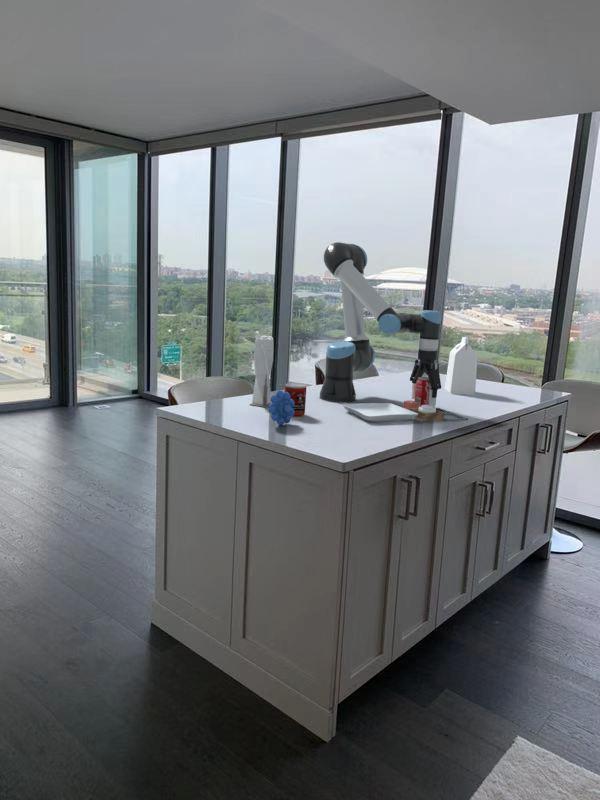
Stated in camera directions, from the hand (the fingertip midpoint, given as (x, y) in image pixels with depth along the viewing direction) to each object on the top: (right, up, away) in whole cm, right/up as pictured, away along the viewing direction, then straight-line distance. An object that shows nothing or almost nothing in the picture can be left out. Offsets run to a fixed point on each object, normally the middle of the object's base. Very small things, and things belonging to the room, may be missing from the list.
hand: (423, 402), depth 249 cm
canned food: (-52, -5, -26) cm, 58 cm away
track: (+5, -5, -12) cm, 14 cm away
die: (-7, -4, -10) cm, 12 cm away
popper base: (-3, -6, -20) cm, 21 cm away
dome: (-3, -4, -20) cm, 21 cm away
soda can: (0, -2, +1) cm, 2 cm away
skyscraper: (-65, -1, -12) cm, 66 cm away
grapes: (-56, -8, -44) cm, 72 cm away
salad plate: (-21, -6, -21) cm, 30 cm away
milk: (+26, +4, +42) cm, 49 cm away
